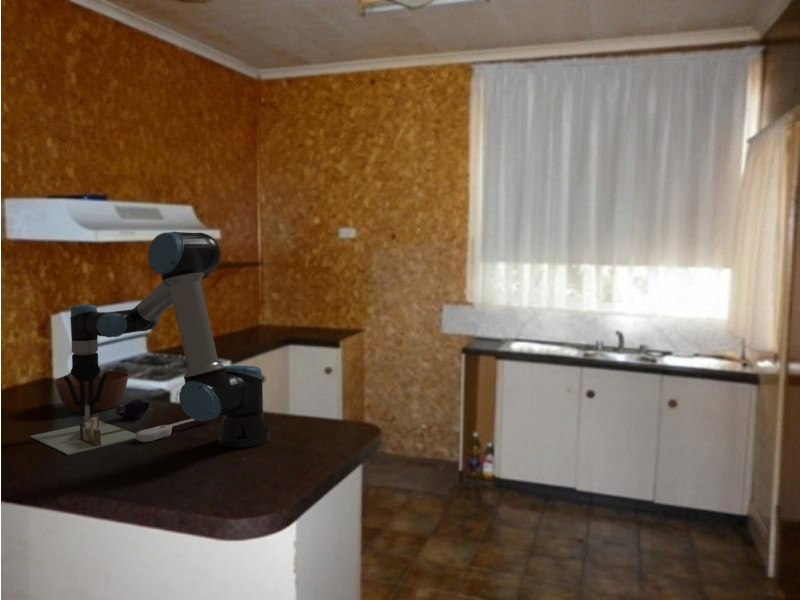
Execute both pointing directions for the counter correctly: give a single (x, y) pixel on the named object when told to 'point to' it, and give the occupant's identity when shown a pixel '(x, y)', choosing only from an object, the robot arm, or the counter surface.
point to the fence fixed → (90, 434)
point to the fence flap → (93, 422)
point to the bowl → (109, 395)
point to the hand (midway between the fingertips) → (87, 425)
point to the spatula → (157, 432)
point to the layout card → (72, 442)
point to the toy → (133, 409)
